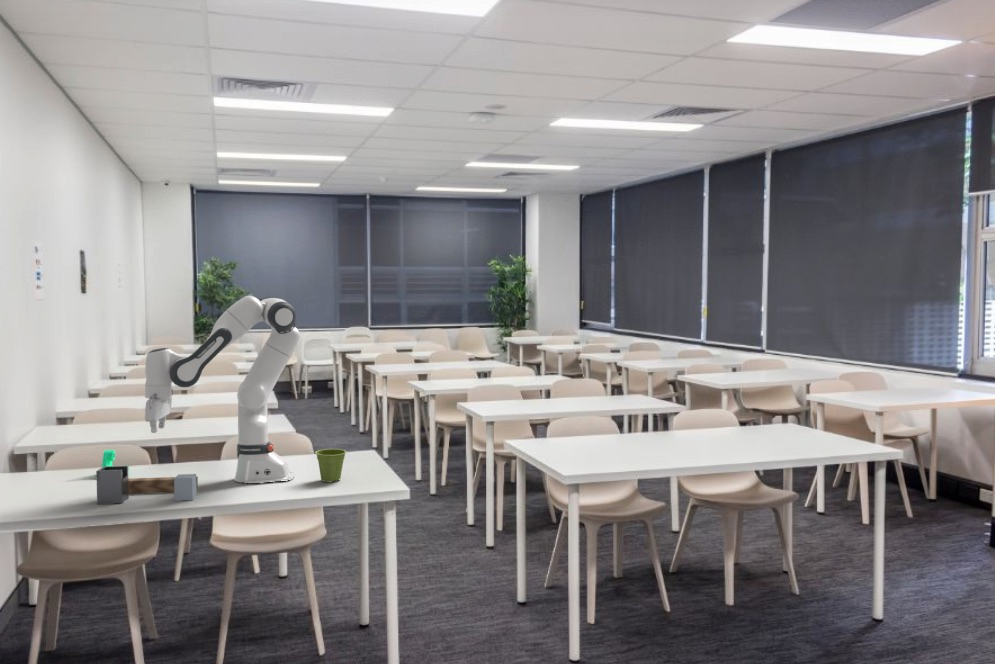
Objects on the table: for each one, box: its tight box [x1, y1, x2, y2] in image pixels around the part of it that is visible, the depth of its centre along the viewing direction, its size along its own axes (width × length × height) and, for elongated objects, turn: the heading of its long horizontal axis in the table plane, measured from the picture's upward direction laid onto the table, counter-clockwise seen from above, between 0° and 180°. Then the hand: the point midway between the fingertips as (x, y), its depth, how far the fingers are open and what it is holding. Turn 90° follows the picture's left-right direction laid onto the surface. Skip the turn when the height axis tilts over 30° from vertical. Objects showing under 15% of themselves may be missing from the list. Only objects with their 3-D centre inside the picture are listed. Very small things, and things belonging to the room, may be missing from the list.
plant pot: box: [314, 448, 347, 482], centre depth 301 cm, size 12×12×11 cm
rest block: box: [173, 473, 198, 502], centre depth 274 cm, size 6×6×8 cm
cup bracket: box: [95, 465, 130, 505], centre depth 270 cm, size 8×8×12 cm
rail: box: [128, 475, 199, 495], centre depth 284 cm, size 26×4×5 cm, turn 99°
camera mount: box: [101, 449, 130, 471], centre depth 310 cm, size 12×8×10 cm, turn 13°
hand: (157, 430), depth 284 cm, fingers open, 8 cm apart
